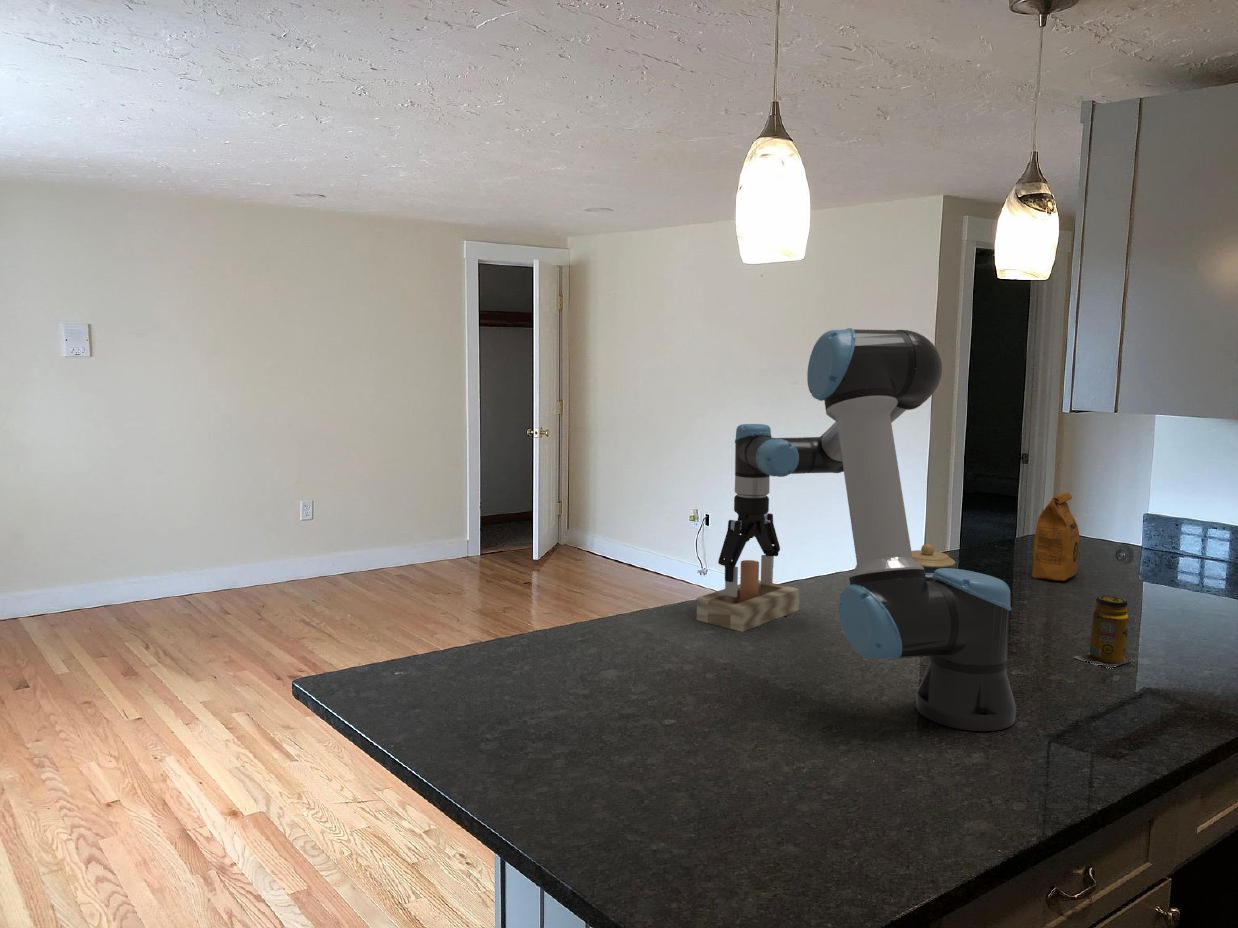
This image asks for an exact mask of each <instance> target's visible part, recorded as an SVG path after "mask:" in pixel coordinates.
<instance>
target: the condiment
mask: <svg viewBox="0 0 1238 928" xmlns="http://www.w3.org/2000/svg"><path fill="white" fill-rule="evenodd" d="M1095 601H1096V604H1095V606H1094V608H1095V609H1094V610H1093V612H1092V618H1091V619H1092V620H1091V630H1090V631H1091V632H1090V643H1089V644H1090V645H1089V652H1087V653H1083V654H1080V655H1075V656H1073V658H1074V659H1077V660H1079V661H1082V662H1085V661H1087V662H1086V663H1088V661H1099V662H1102V663H1107V665H1108V664H1120V663H1123V662H1124V661H1125V660H1124V659H1125V658H1126V655H1127V642H1128V641H1127V640H1128V632H1129V631H1128V629H1129V615H1128V613H1127V612H1128V601H1127V600H1126V599H1124V598H1123V597H1122V598H1121V597H1118V596H1113V595H1112V596H1111V595H1100V596H1097V597H1096V599H1095ZM1086 657H1090V658H1086ZM1132 660H1133V659H1132ZM1133 661H1134V662H1135V660H1133ZM1094 663H1095V662H1093V663H1091V662H1090V663H1089V664H1091V665H1094V666H1098V665H1103V664H1096V663H1095V664H1094ZM1097 663H1098V662H1097ZM1114 667H1116V666H1114ZM1116 668H1117V667H1116ZM1106 669H1109V667H1108V668H1107V667H1106ZM1112 669H1114V668H1112ZM1112 669H1111V668H1110V669H1109V670H1112Z"/></svg>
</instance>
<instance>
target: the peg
mask: <svg viewBox="0 0 1238 928" xmlns="http://www.w3.org/2000/svg"><path fill="white" fill-rule="evenodd" d="M759 574H760V561H758V560H754V559H753V560H752V559H751V560H750V559H747V560H745V559H743V560H741V561H740V574H739V575H740V576H739V577H740V580H739V584H740V603H741V602H744V601H746V600H749V599H752V598H755V597H758V587H759V580H760V579H759V578H760V577H759V576H760V575H759Z"/></svg>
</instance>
